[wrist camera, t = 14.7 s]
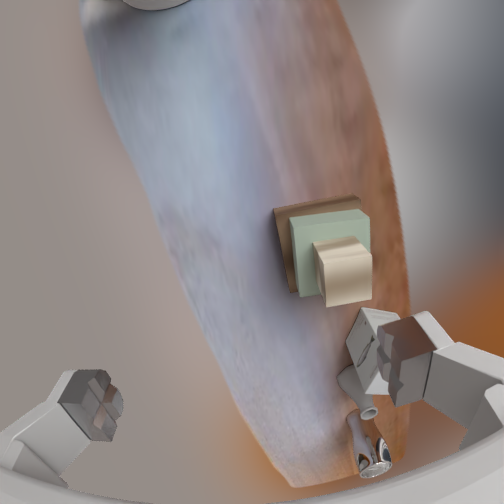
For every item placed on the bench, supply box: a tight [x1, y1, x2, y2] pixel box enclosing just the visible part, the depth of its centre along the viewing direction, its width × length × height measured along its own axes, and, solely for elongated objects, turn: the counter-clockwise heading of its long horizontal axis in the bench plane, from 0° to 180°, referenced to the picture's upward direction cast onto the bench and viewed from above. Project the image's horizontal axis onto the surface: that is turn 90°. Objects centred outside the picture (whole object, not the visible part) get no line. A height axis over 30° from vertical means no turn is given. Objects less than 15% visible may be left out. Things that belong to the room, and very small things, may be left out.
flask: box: [337, 365, 378, 420], centre depth 49 cm, size 7×7×10 cm
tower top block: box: [289, 209, 370, 297], centre depth 38 cm, size 9×9×4 cm
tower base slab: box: [273, 193, 362, 293], centre depth 42 cm, size 11×11×4 cm
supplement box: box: [345, 307, 400, 394], centre depth 43 cm, size 7×7×13 cm
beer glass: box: [346, 409, 392, 478], centre depth 52 cm, size 7×7×15 cm
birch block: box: [313, 236, 372, 307], centre depth 33 cm, size 5×5×6 cm
